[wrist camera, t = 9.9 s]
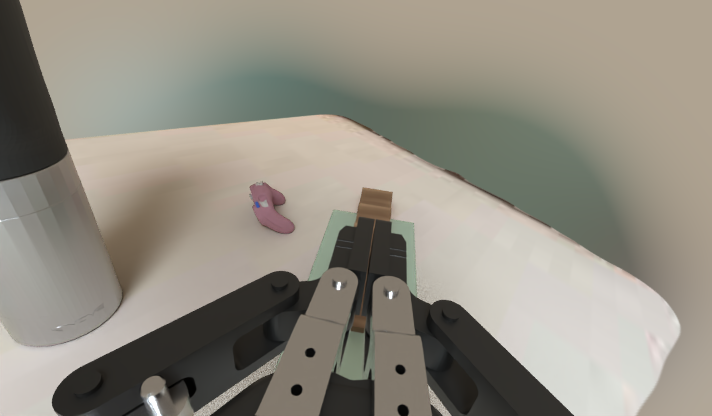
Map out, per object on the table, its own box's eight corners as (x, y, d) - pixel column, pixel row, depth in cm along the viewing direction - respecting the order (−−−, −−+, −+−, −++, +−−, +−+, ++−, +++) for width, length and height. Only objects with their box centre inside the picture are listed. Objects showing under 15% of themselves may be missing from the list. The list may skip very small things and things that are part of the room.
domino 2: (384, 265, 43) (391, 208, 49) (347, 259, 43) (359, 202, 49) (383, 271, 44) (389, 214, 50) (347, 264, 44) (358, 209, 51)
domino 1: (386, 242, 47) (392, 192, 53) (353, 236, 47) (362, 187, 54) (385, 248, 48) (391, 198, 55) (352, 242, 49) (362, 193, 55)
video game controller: (263, 211, 57) (241, 180, 52) (286, 199, 57) (267, 167, 53) (270, 246, 49) (246, 213, 45) (297, 232, 49) (276, 198, 45)
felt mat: (420, 403, 30) (421, 401, 30) (274, 375, 31) (273, 373, 31) (413, 224, 55) (413, 222, 55) (333, 211, 56) (333, 209, 56)
